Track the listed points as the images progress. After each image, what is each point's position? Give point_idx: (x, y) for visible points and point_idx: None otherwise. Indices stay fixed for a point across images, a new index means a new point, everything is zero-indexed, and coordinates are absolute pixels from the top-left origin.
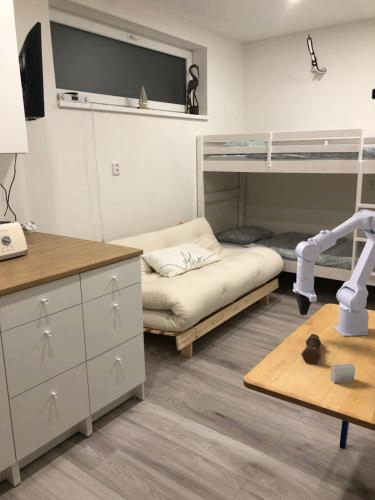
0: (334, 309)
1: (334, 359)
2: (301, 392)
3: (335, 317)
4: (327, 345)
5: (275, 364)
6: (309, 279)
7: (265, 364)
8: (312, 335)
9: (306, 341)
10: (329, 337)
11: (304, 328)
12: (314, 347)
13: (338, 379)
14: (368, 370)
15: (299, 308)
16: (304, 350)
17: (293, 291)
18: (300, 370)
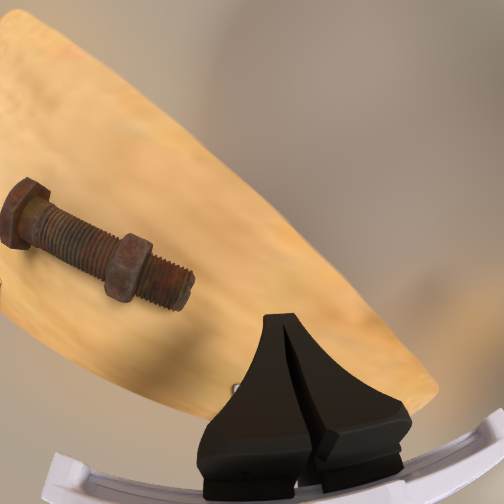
0: (415, 397)
1: (70, 292)
2: None
3: None
4: (168, 317)
5: (39, 73)
6: None
7: (47, 40)
8: (164, 288)
9: (125, 239)
10: (237, 348)
11: (342, 291)
12: (9, 239)
13: None
14: (41, 339)
15: (292, 339)
16: (11, 193)
17: (353, 495)
18: (6, 156)
